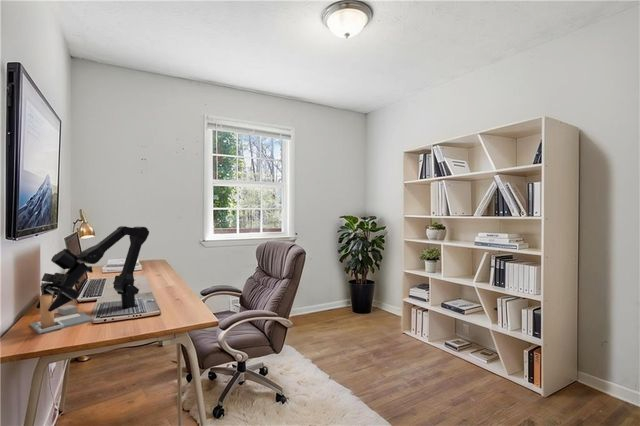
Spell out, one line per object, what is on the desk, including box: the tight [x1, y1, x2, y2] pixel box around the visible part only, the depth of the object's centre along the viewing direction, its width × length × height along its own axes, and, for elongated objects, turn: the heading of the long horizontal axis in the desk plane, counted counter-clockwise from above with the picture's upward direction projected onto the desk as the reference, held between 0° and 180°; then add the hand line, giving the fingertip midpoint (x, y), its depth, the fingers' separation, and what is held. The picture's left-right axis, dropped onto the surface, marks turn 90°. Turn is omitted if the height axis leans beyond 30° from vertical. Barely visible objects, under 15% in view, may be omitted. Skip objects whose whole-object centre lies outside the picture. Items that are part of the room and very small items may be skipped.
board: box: [30, 311, 94, 335], centre depth 140 cm, size 16×18×2 cm
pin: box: [39, 294, 55, 329], centre depth 133 cm, size 4×4×13 cm
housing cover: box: [57, 304, 79, 316], centre depth 155 cm, size 7×5×2 cm
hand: (42, 309), depth 132 cm, fingers open, 9 cm apart
